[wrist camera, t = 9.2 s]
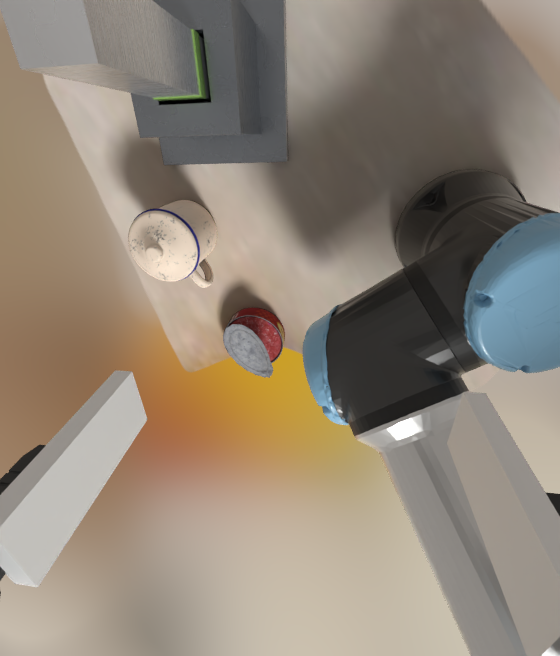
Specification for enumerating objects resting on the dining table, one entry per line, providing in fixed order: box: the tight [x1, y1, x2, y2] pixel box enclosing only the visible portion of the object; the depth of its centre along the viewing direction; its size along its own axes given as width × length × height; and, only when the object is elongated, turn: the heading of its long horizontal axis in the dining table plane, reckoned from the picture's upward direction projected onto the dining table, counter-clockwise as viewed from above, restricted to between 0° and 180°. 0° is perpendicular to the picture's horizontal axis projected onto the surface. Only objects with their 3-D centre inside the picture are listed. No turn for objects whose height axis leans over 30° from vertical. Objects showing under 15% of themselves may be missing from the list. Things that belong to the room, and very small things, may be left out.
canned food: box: [223, 308, 285, 377], centre depth 53 cm, size 11×10×10 cm
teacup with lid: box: [128, 200, 217, 288], centre depth 44 cm, size 12×9×12 cm
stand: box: [131, 0, 288, 165], centre depth 34 cm, size 16×16×12 cm
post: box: [0, 0, 211, 104], centre depth 24 cm, size 4×4×20 cm
